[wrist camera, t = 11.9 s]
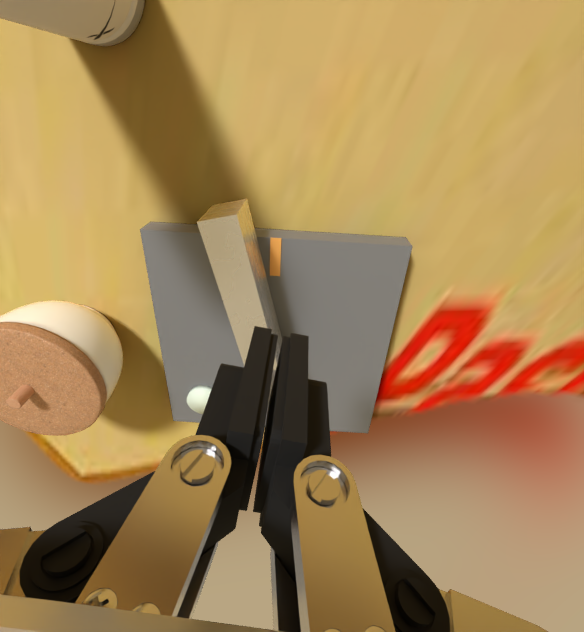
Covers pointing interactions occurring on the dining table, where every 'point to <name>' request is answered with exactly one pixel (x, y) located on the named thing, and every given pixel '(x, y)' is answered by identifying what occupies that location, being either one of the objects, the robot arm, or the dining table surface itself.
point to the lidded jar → (56, 366)
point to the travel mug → (78, 18)
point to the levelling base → (280, 312)
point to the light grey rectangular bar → (239, 272)
